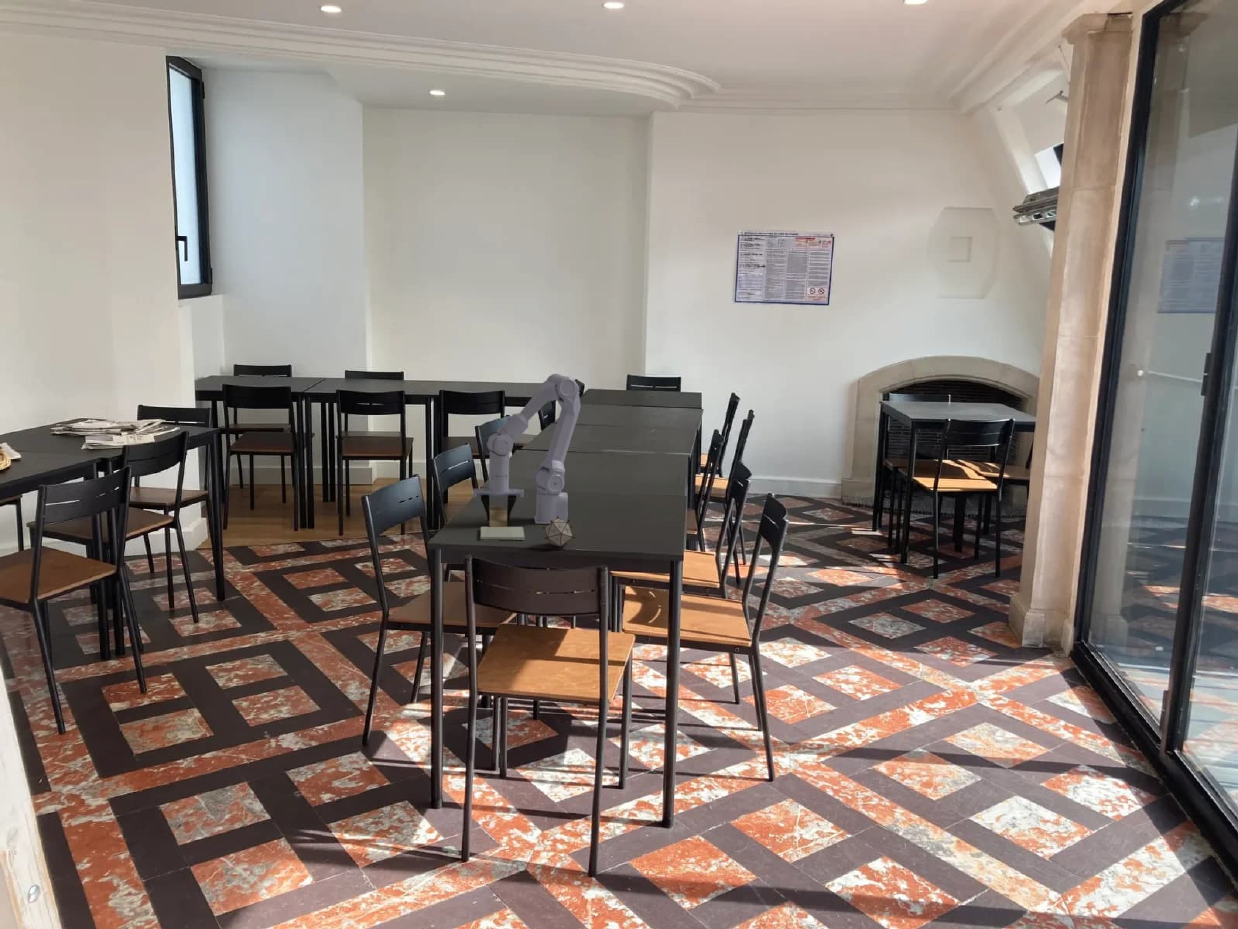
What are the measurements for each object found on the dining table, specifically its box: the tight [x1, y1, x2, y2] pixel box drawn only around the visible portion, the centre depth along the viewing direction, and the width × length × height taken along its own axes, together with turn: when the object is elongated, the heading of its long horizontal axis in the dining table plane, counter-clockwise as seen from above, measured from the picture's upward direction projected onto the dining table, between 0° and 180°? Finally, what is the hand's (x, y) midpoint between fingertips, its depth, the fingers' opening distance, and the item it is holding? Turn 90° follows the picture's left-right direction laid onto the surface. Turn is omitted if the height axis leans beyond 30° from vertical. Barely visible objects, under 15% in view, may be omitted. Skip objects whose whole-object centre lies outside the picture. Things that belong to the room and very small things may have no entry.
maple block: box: [489, 505, 508, 527], centre depth 277 cm, size 5×5×5 cm
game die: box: [542, 516, 576, 550], centre depth 256 cm, size 9×8×10 cm
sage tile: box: [480, 526, 525, 541], centre depth 266 cm, size 12×11×1 cm
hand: (498, 520), depth 277 cm, fingers closed on maple block, 5 cm apart
